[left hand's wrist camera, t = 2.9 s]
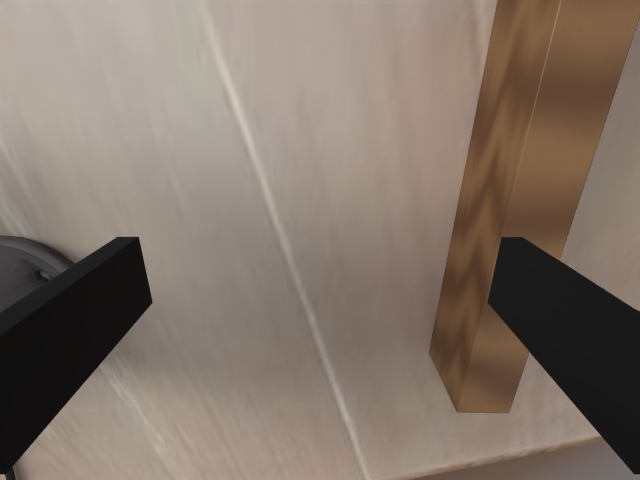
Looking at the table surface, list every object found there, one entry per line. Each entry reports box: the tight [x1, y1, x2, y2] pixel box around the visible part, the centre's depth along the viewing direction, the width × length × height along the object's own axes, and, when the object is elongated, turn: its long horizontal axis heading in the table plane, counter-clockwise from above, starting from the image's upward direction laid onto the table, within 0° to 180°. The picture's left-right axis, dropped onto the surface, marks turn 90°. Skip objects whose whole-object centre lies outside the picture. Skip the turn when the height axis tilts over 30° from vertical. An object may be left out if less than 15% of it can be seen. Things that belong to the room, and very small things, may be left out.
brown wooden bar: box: [429, 0, 640, 413], centre depth 25 cm, size 55×5×8 cm, turn 178°
